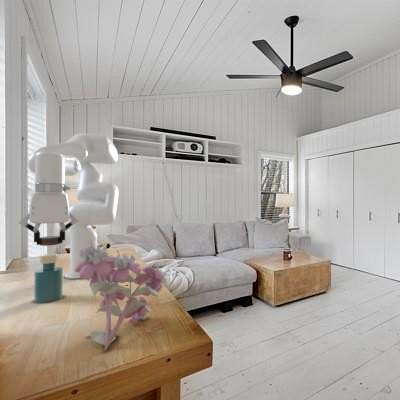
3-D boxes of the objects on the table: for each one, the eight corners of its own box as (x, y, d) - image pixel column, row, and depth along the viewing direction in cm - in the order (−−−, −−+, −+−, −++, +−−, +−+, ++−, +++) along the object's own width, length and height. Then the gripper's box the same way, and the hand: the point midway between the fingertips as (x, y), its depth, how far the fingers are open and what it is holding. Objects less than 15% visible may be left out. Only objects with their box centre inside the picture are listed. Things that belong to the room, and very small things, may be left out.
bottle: (50, 294, 103) (50, 252, 103) (67, 296, 102) (68, 253, 102) (28, 302, 96) (28, 256, 96) (47, 303, 95) (47, 257, 94)
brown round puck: (50, 242, 101) (50, 235, 101) (64, 243, 100) (64, 236, 100) (35, 245, 96) (35, 238, 96) (48, 246, 95) (48, 238, 95)
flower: (188, 330, 74) (179, 236, 83) (78, 355, 57) (82, 235, 66) (156, 341, 85) (151, 258, 94) (57, 364, 69) (62, 261, 78)
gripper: (81, 190, 106) (80, 239, 106) (15, 188, 95) (15, 244, 95) (82, 190, 100) (82, 242, 100) (13, 188, 89) (13, 247, 89)
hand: (49, 242), depth 98 cm, fingers closed on brown round puck, 5 cm apart
